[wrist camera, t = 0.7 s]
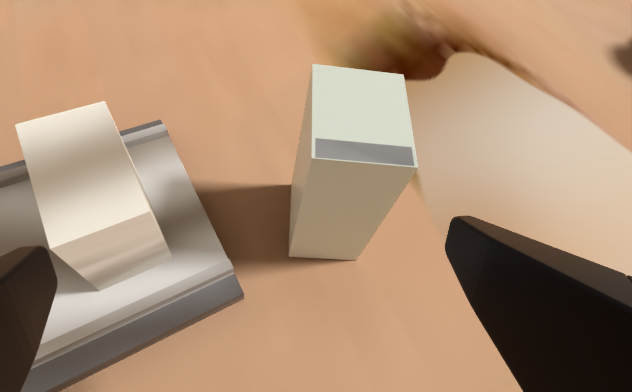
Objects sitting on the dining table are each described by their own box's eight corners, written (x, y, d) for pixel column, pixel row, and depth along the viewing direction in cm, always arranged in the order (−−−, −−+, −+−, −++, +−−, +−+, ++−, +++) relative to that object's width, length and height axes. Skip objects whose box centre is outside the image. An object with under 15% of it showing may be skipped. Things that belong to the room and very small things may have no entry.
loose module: (356, 260, 25) (418, 167, 16) (288, 256, 25) (311, 158, 16) (352, 188, 28) (403, 73, 19) (291, 183, 28) (312, 62, 18)
